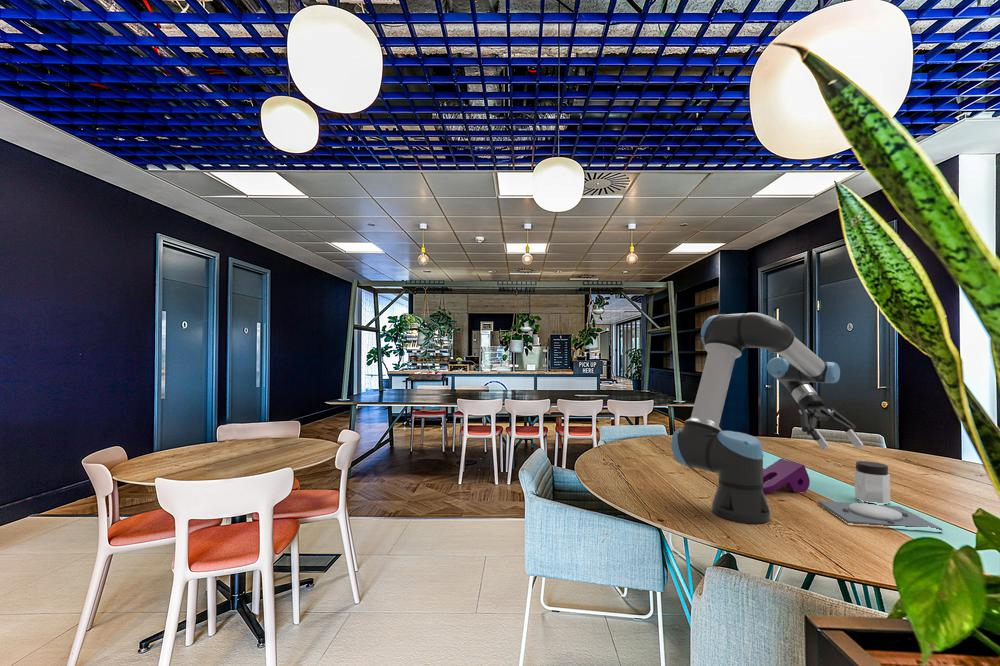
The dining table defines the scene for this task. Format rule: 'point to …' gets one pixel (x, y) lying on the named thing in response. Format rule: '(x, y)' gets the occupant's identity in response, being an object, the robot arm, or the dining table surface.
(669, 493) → the dining table surface
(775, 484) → the mounting bracket
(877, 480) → the jar
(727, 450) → the robot arm
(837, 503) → the board
